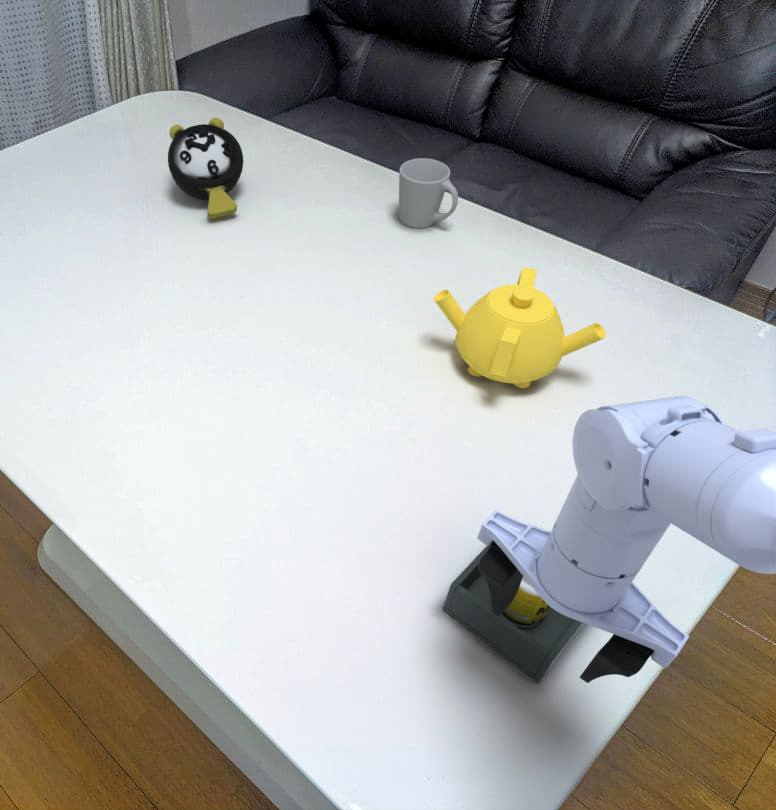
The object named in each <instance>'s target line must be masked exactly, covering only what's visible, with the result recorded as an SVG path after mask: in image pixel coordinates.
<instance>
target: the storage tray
mask: <svg viewBox="0 0 776 810" xmlns="http://www.w3.org/2000/svg"><path fill="white" fill-rule="evenodd" d="M490 546H491V545H490ZM490 546H488V545H486V546H485V547H484V548H483V549H482V550H481V551H480V552H479V554H477V556H476V557H475V558H474V559H473V560H472V561H471V562H470V563H469V564H468V565H467V566H466V567H465V568H464V570H463V571H462V572H461V573H460V574H459V575H457V577H456V578H455V579H454V580H453V581H452V582H451V583H450V585H449V589H448V592H447V595H446V598H445V601H444V603H443V606H442V610H443V611H444V612H445V613H446V614H448V615H449V616H451V617H452V618H453V619H455V620H456V621H457V622H458V623H460V624H461V625H462V626H463V627H465V628H466V629H468V630H469V631H470V632H471V633H472V634H474V635H475V636H476V637H478V638H479V639H480V640H481V641H483V642H484V643H486V644H487V646H489V647H491V648H492V649H493V650H495V651H496V652H497V653H499V654H500V655H501V656H502V657H504V658H505V659H507V660H508V661H509V662H510V663H512V665H514V666H515V667H517V669H519V670H520V671H522V672H523V673H524V674H526V675H527V676H528V677H529V678H531V679H532V680H533V681H535V682H536V683H537V684H540V683H541V681H542V680H543V679H544V678H545V677H546V675H547V674H548V673H549V671H550V670H551V669H552V667H553V666H554V665H555V664H556V662H557V661H558V660H559V658H560V657H561V656H562V654H563V653H564V652H565V651H566V649H567V648H568V647H569V645H570V644H571V643H572V641H573V640H574V639H575V638H576V636H577V635H578V634H579V632H580V631H581V630H582V628H584V626H585V625H586V624H585V623H583V622H580V621H577V620H574V619H572V618H569V617H567V616H565V615H562V614H561V613H559V612H557V611H556V610H554V609H553V608H550V610H549V611H548V614H547V615H546V617H545V619H544V620H543V621H542V622H541V623H540V624H539V625H537V626H535V627H531V628H522V627H518V626H515V625H514V624H512V623H511V622H510V621H508V620H507V619H506V618H504V617H503V616H502V615H500V616H499V617H498V616H496V615H495V614H494V613H492V601H491V594H490V590H489V587H488V584H487V582H486V580H485V578H484V577H483V575H482V574H481V573H480V571H479V570H478V568H479V562H480V559H481V558H482V557H483V556H484V554H485V553H486V552H487V551H488V549H489V548H490Z"/></svg>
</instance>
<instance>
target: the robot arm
mask: <svg viewBox="0 0 776 810" xmlns="http://www.w3.org/2000/svg"><path fill="white" fill-rule="evenodd" d="M572 455H573V462H574V466H575V468H576V473H577V475H576V477H575V479H574V482H573V483H572V486H571V488H570V489H569V491H568V494H567V496H566V498H565V501H564V503H563V504H562V506H561V509H560V511H559V513H558V515H557V517H556V519H555V522H554V524H553V526H552V529H551V531H550V530H548V529H545V528H542V527H538V526H536V525H532V524H530V523H526V522H523V521H521V520H519V519H515V518H513V517H511V516H509V515H507V514H505V513H503V512H502V511H500V510H499V509H495V510H494V511H493V512H492V513H491V514H490V515H489V516H488V517H487V519H485V520H484V522H483V523H482V524H481V526H480V529H479V532H478V535H477V538H476V539H477V540H478V541H480V542H481V543H483V544H484V545H486V546H487V545H488V546H490V545H491V546H490V548H489V549H488V551H487V552H486V553H485V554H484V556H483V557H482V558H481V559H480V562H479V568H478V570H479V571H480V573H481V574H482V575H483V577H484V578H485V580H486V582H487V584H488V587H489V590H490V594H491V601H492V613H494V614H495V615H496V616H498V617H499V616H500V615H501V614H502V613H503V612H504V611H505V609H506V608H507V607H508V606H509V605H510V604H511V603H512V601H513V599H514V598H515V596H516V594H517V592H518V589H519V586H520V584H521V581H522V578H523V576H524V577H525V579H526V580H527V581H528V582H529V583H530V585H531V586H532V587H533V588H534V590H535V591H536V592H537V593H538V594H539V596H540V597H541V598H542V599H543V600H544V601H545V602H546V603H547V604H548V605H549V606H550V607H551V608H553V609H554V610H556V611H557V612H559V613H561V614H562V615H565V616H567V617H569V618H572V619H574V620H577V621H580V622H583V623H585V624H584V625H588V626H591V627H593V628H596V629H599V630H602V631H603V632H607V633H610V634H612V635H611V637H610V638H609V640H608V641H607V642H606V643H605V644H604V645H602V647H601V648H600V649H599V650H598V651H597V653H596V654H595V656H594V657H593V658H592V659H591V661H590V662H589V663H588V665H587V666H586V668H585V669H584V670H583V671H582V673H581V675H580V676H579V679H580V680H582V681H584V682H585V683H586V684H589V683H591V682H592V681H594V680H596V679H598V678H602V677H606V676H611V675H617V676H621V677H622V676H623V677H626V678H630V677H633V676H634V675H636V674H638V673H639V672H640V671H641V670H642V669H643V667H644V666H645V664H646V663H647V661H648V659H649V658H651V660H652V661H653V662H655V663H656V664H657V665H659V666H661V667H662V668H663V669H667V668H668V667H669V666H670V664H671V663H673V661H674V660H675V659H676V658H677V657H678V655H679V653H681V650H682V649H683V648H684V646H685V644H687V642H688V640H689V639H690V635H689V634H687V633H686V632H685V631H683V630H681V628H679V627H678V626H676V625H675V624H674V623H672V622H671V621H670V620H669V619H668V618H667V617H666V616H665V615H664V614H663V612H662V611H660V610H659V608H657V606H656V605H655V604H654V603H653V602H652V601H651V600H650V599H649V597H647V596H646V595H645V593H644V592H643V591H642V590H641V589H640V588H639V587H638V586H637V585H636V583H634V582H633V581H634V579H636V576H637V575H638V573H639V572H640V571H641V570H642V568H643V566H644V565H645V563H646V562H647V560H648V559H649V557H650V555H651V554H652V553H653V551H654V549H655V548H656V546H657V545H658V544H659V542H660V541H661V539H662V538H663V536H664V535H665V533H666V532H667V530H668V528H669V527H670V526H671V524H672V525H673V526H675V527H676V528H677V529H679V530H681V531H683V532H685V533H686V534H688V535H689V536H691V537H693V538H694V539H696V540H697V541H699V542H701V543H702V544H703V545H705V546H707V547H709V548H710V549H712V550H713V551H715V552H716V553H719V554H720V555H722V556H723V557H725V558H727V559H728V560H730V561H731V562H733V563H735V564H736V565H737V566H739V567H741V568H743V569H745V570H747V571H750V572H752V573H756V574H763V575H776V431H774V430H771V429H768V428H757V429H751V430H749V429H748V430H743V431H742V430H741V429H737V428H735V427H732V426H730V425H727V424H726V423H725V422H724V420H723V418H721V416H719V414H718V412H716V411H715V410H714V409H713V408H712V407H710V406H708V405H706V404H704V403H701V402H700V401H699V400H697V399H695V398H693V397H690V396H687V395H678V396H671V397H663V398H656V399H648V400H641V401H633V402H625V403H618V404H617V403H616V404H610V405H604V406H603V405H602V406H600V407H597V408H591V409H588V410H585V411H584V412H583V413H582V414H581V415H580V416H579V417H578V419H577V420H576V423H575V425H574V429H573V434H572Z"/></svg>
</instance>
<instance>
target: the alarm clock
mask: <svg viewBox="0 0 776 810" xmlns="http://www.w3.org/2000/svg"><path fill="white" fill-rule="evenodd" d="M224 128H225V124H224V121H223V120H222V119H221V118H219V117H212V118H211V119H210V120H209V122H208V124H206V123H205V124H204V123H202V124H195V125H191V126H188V127H187V128H184V127H183V126H182V125H181V124H174V125H172V126H171V127H170V128H169V136H170V139H171V142H170V144H169V147H168V152H167V164H168V170H169V172H170V174H171V177H172V179H173V181H174V182H175V184H176V186H177V187H178V188H179V189H180V190H181V191H182V192H183V193H185V194H186V195H188V196H189V197H192V198H194V199H198V200H204V201H208V206H207V219H210V220H215V219H219V218H223V217H227V216H232V215H234V214H235V213H236V212H237V210H238V204H237V203H236V201H235V200H234V199H232V198H231V196H230V195H229V194H228V193H230V192H231V191H232V190H233V189H234V188H235V187H236V185H237V184H238V182H239V180H240V178H241V176H242V172H243V169H244V155H243V149H242V147H241V145H240V142H239V141H238V140H237V138H236V137H235V136H234V135H233V134H232V133H230V131H228V130H227V129H224Z"/></svg>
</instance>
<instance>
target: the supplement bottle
mask: <svg viewBox="0 0 776 810" xmlns="http://www.w3.org/2000/svg"><path fill="white" fill-rule="evenodd" d="M550 608H551V607H550V606H549V605H548V604H547V603H546V602H545V601H544V600H543V599H542V598H541V597H540V596H539V594H538V593H537V592H536V591H535V590H534V588H533V587H532V586H531V585H530V583H529V582H528V581H527V580H526V579H525V577H524V576H523V578H522V581H521V584H520V586H519V589H518V592H517V594H516V596H515V598H514V599H513V601H512V603H511V604H510V605H509V606H508V607H507V608H506V609H505V611H504V612H503V613H502V614H501V615H502V616H503V617H504V618H506V619H507V620H508V621H510V622H511V623H512V624H514V625H515V626H518V627H522V628H531V627H535V626H537V625H539V624H540V623H541V622H542V621H543V620H544V619H545V617H546V615H547V614H548V611H549V610H550Z"/></svg>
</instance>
